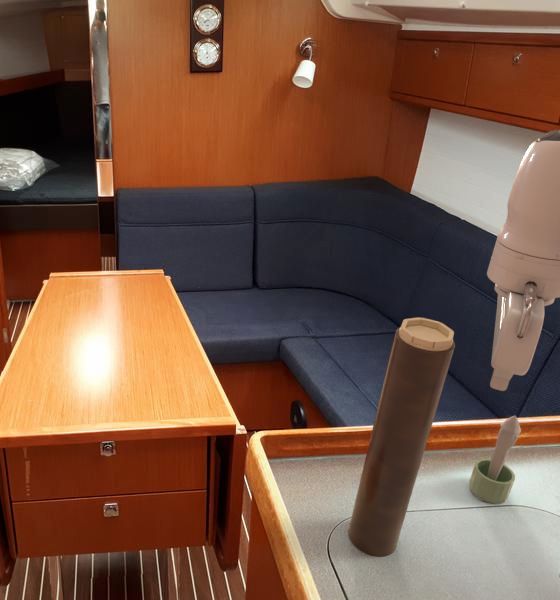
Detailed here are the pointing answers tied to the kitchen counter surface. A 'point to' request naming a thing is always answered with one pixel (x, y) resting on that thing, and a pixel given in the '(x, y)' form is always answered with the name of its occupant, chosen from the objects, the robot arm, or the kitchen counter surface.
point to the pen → (503, 445)
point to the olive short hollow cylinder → (491, 483)
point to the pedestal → (397, 445)
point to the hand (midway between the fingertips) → (499, 368)
